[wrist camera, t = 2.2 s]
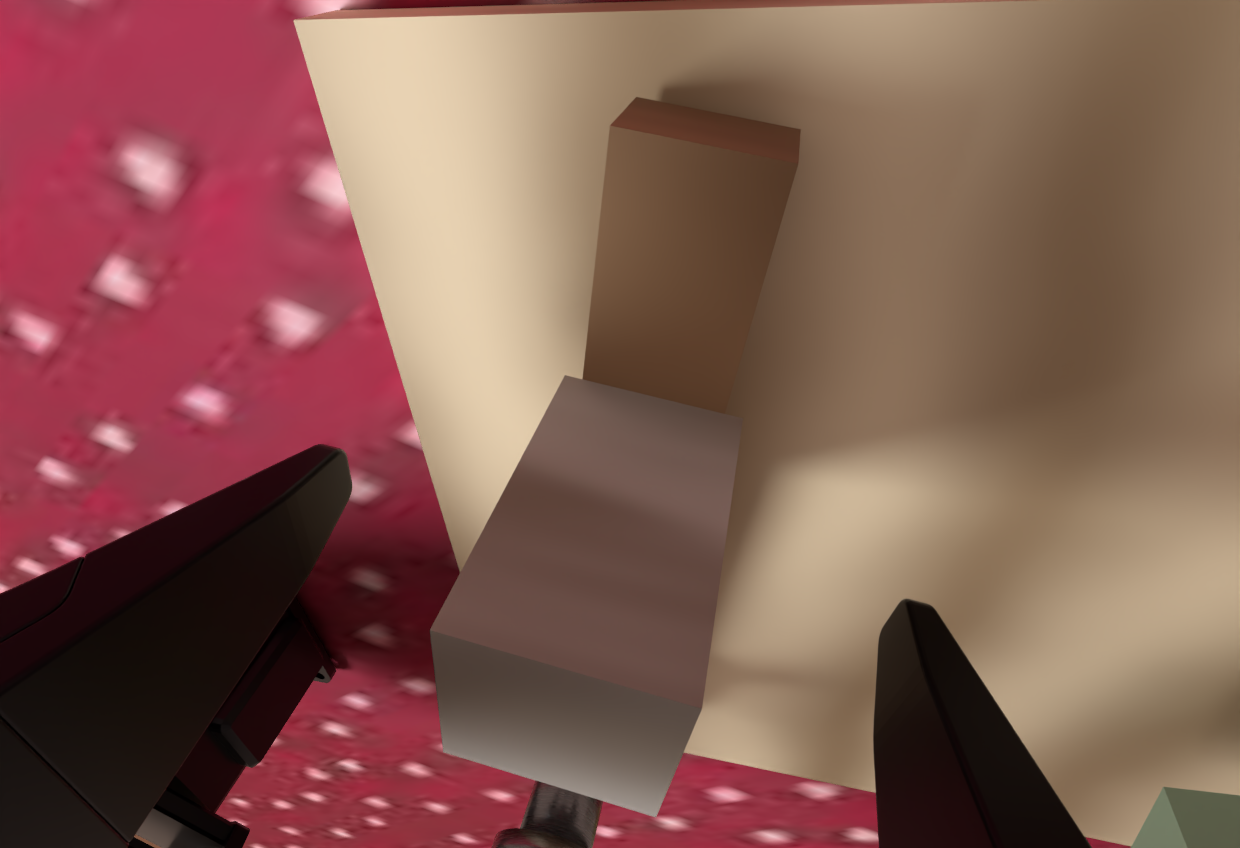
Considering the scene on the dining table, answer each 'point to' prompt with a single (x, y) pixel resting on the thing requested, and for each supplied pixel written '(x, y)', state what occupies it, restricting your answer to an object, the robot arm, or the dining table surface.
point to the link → (623, 478)
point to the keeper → (1191, 820)
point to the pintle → (554, 820)
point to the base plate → (870, 340)
